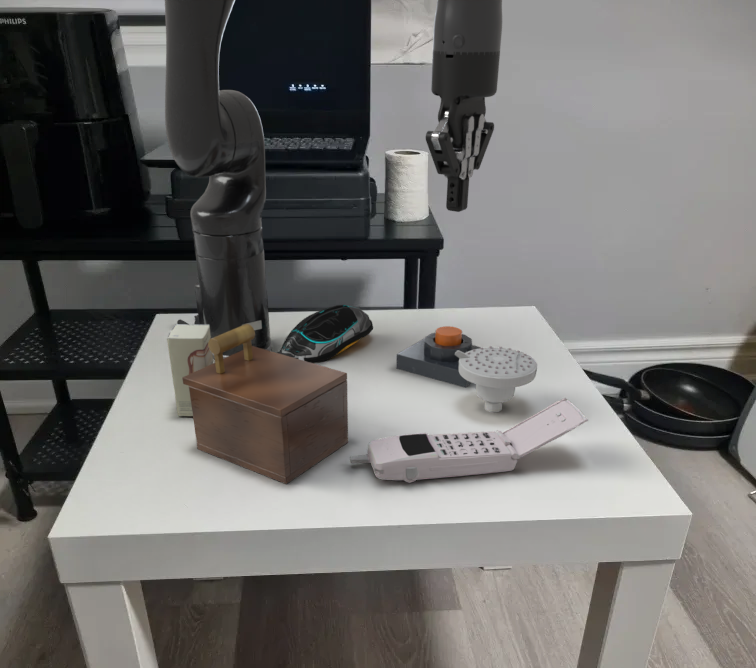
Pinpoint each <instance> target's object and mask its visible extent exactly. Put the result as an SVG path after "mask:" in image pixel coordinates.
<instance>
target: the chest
mask: <svg viewBox="0 0 756 668" xmlns="http://www.w3.org/2000/svg"><path fill="white" fill-rule="evenodd" d="M189 392H190V399H191V406H192V413H193V416H192V419H193V425H194V433H195V440H196V447H197V450H199V451H201V452H203V453H207V454H209V455H212V456H214V457H216V458H219V459H222V460H223V461H227V462H229V463H232V464H234V465H237V466H239V467H242V468H245V469H247V470H250V471H252V472H255V473H257V474H260V475H262V476H265V477H267V478H270V479H272V480H274V481H277V482H280V483H282V484H285V485H287V484H289V483H290V482H291V481H293V480H295V479H296V478H298V477H299V476H301V475H302V474H303V473H305V472H307V471H308V470H310V469H311V468H312V467H314V466H315V465H318V463H320V462H321V461H323V460H324V459H326V458H327V457H329V456H330V455H332V454H333V453H335V452H336V451H338V450H339V449H340V448H342V447H344V446H345V445H347V444H348V443H349V412H348V407H349V406H348V405H349V403H348V379H347V380H345V381H344V382H342V383H340V384H338V385H337V386H335V387H333V388H331V389H330V390H328V391H326V392H324V393H323V394H321V395H319V396H317V397H316V398H314V399H312V400H310V401H309V402H307V403H305V404H303V405H302V406H300V407H298V408H296V409H295V410H293V411H291V412H289V413H288V414H286V415H284V416H282V417H280V416H277V415H274V414H271V413H268V412H265V411H262V410H259V409H256V408H253V407H250V406H247V405H244V404H241V403H238V402H235V401H232V400H229V399H226V398H223V397H220V396H217V395H214V394H211V393H208V392H206V391H203V390H200V389H197V388H194V387H191V386H189Z"/></svg>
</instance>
